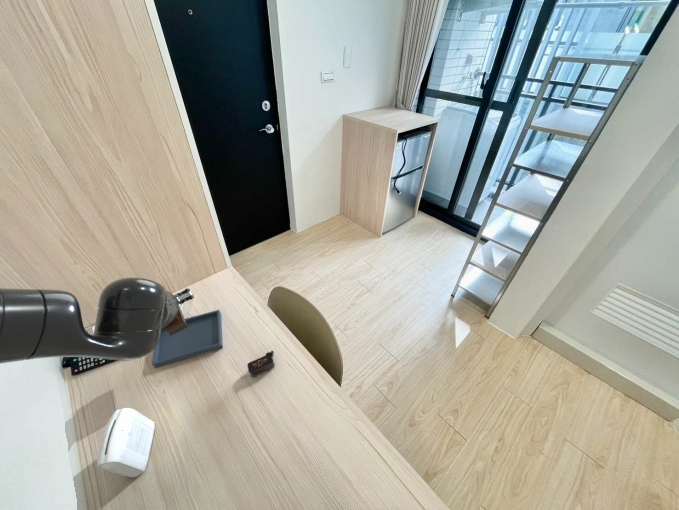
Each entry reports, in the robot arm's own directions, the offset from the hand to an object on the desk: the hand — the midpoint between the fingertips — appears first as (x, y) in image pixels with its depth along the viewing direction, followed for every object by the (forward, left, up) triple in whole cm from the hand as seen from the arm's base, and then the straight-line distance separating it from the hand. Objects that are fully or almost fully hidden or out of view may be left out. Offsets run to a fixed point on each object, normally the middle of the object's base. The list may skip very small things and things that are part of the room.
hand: (165, 305), depth 66 cm
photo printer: (-10, -24, -18) cm, 31 cm away
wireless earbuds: (+19, -14, -18) cm, 29 cm away
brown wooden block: (+1, -2, -4) cm, 4 cm away
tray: (0, +1, -18) cm, 18 cm away
